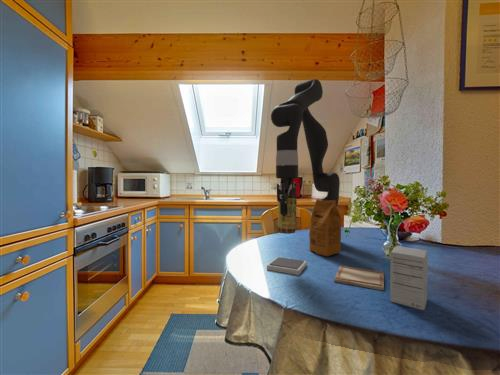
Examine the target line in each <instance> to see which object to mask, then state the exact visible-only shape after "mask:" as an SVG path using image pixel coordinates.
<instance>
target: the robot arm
mask: <svg viewBox="0 0 500 375" xmlns="http://www.w3.org/2000/svg"><path fill="white" fill-rule="evenodd" d="M322 98H323V86H322V83H321V81H320V80H319V79H317V78H313V79H310V80H307V81H303V82H299V83H297V84H295V86H294V95H293V96H291V97H290V98H289V99H288V100H287V101H284V102H281V103H279V104H277V105H276V106H275V107H274V108H272V111H271V112H270V113H271V114H270V120H271V122H272V124H273V125H274V126H275V127H277V128H285V127H288V129H287V131H284V132H282V133H279V134H277V136H276V156H275V178H276V179H280V182H279V183H276V202H279V203H280V214H281V215H287V204H286V203H287V201H288V197H290V191H291V189H292V184H289V179H290V178H294V179H298V178H299V153H298V140H299V139H298V138H299V133H300V128H301V125H303V126H302V127H303V131H304V136H305V141H306V145H307V149H308V155H309V158H310V163H311V172H312V178H313V185H314V188H315V190H316V191H317V192H321V193H322V192H323V193H327V195H326V196H325V197H323V198H321V199H320V198H319V199H320V200H322V201H337V204H336V206H337V209H338V210H339V205H338V204H339V200H340V199H339V198H340V184H341V182H340V181H341V180H340V177H339V175H338V173H336V172H324V168H323V161H324V158H325V156H326V153H327V151H328V147H329V141H328V135H327V131H326V129H325V127H324V126H323V125H322V124H321V123H320V122H319V121H318V120H317V119H316V118H315V117H314V116H313V114H312V113H311V111H310V110H309V107H311V105H313V104H315V103H316V102H318V101H320V100H321V99H322ZM293 186H294V190H295V193H296V194H297V182H294V185H293ZM285 193H287V194H285Z"/></svg>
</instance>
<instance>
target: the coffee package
mask: <svg viewBox="0 0 500 375" xmlns="http://www.w3.org/2000/svg"><path fill="white" fill-rule="evenodd" d="M336 204H337V201H322V200H320V198H316V200H315V203H314V206H313V208H312V209H313V210H312V212H311V213H312V214H311V217H310V225H309V232H308V233H309V234H308V235H309V251H310V252H315V254H317V255H318V256H324V257H330V256H333V255H337V254H340V253H342V248H341V246H342V243H341V242H342V241H341V240H342V216H341V214H340V212H339V208H338V209H337V206H336Z"/></svg>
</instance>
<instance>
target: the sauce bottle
mask: <svg viewBox="0 0 500 375" xmlns="http://www.w3.org/2000/svg"><path fill="white" fill-rule="evenodd" d="M294 181H295V178H290V179H289V184H292V189H291V191H290V197H288V201H287V203H286V204H287V215H281V214H280V203H279V202H278V204H277V205H278V209H277V232H278V233H280V234H286V235H289V234H295V233H296V228H297V208H298V207H297V201H298V200H297V199H298V198H297V192H296V193H295V190H294V186H293V185H294V183H295V182H294ZM285 194H287V193H285Z"/></svg>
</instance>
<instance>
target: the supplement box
mask: <svg viewBox="0 0 500 375" xmlns="http://www.w3.org/2000/svg"><path fill="white" fill-rule="evenodd" d="M428 260H429V259H428V250H426V249H422V248H414V247H407V246H398V245H395V246H394V248H393V249H391V251H390V264H389V265H390V268H389V269H390V271H389V272H390V276H389V277H390V278H389V279H390V282H389V286H390V287H389V298H390V299H389V301H390V302H391V303H392V302H393V303H396V304H399V305H402V306H406V307H410V308H413V309H417V310H421V311H425V310H426V305H427V302H428Z"/></svg>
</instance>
